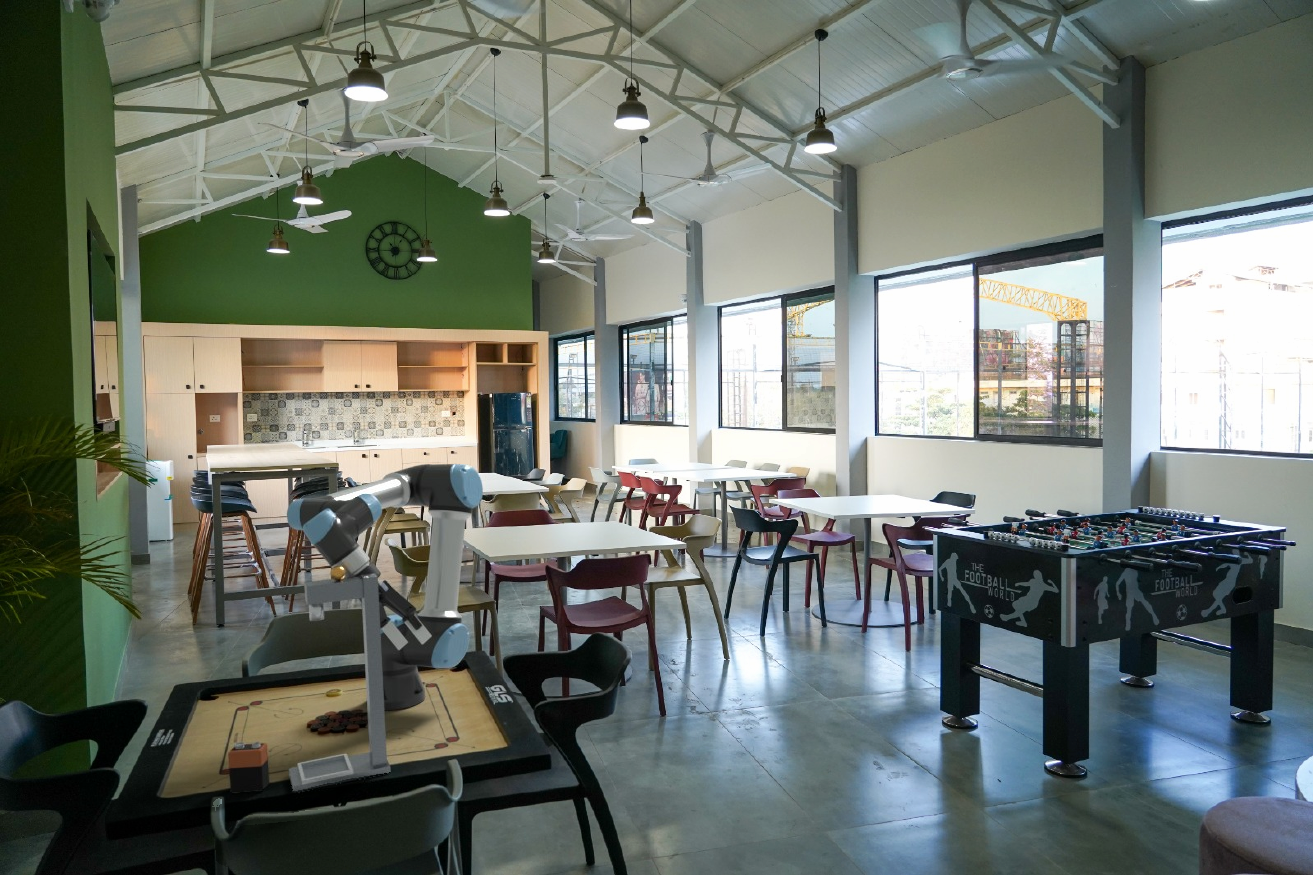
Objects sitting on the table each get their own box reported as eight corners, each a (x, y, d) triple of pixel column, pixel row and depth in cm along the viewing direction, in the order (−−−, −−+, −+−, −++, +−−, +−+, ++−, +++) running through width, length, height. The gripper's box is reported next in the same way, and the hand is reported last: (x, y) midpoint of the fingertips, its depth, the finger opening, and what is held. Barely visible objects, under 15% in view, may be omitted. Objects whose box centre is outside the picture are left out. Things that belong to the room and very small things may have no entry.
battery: (237, 785, 196) (235, 740, 196) (270, 783, 197) (267, 738, 196) (229, 794, 192) (226, 748, 191) (262, 792, 192) (260, 746, 192)
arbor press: (289, 775, 201) (277, 567, 198) (382, 756, 210) (372, 557, 207) (293, 793, 191) (281, 576, 189) (390, 772, 200) (380, 565, 198)
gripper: (326, 589, 212) (382, 659, 216) (363, 572, 194) (424, 649, 197) (351, 569, 217) (405, 638, 221) (390, 551, 198) (449, 626, 202)
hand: (415, 643), depth 209 cm, fingers open, 13 cm apart
